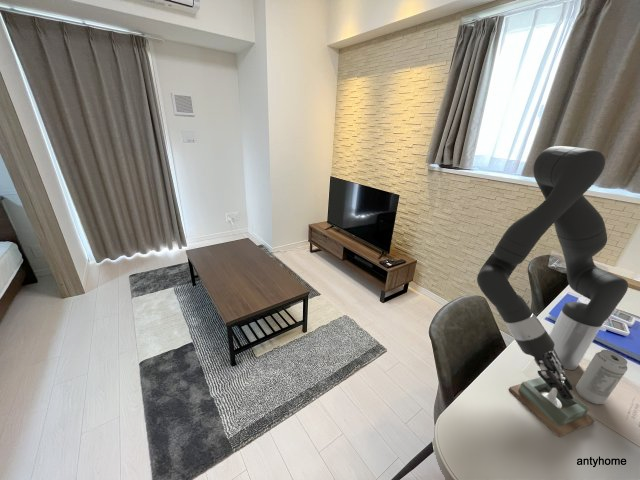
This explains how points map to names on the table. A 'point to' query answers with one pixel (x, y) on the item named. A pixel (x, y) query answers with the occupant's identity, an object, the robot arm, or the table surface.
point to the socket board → (546, 420)
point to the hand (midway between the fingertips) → (568, 393)
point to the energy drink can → (601, 376)
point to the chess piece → (553, 396)
